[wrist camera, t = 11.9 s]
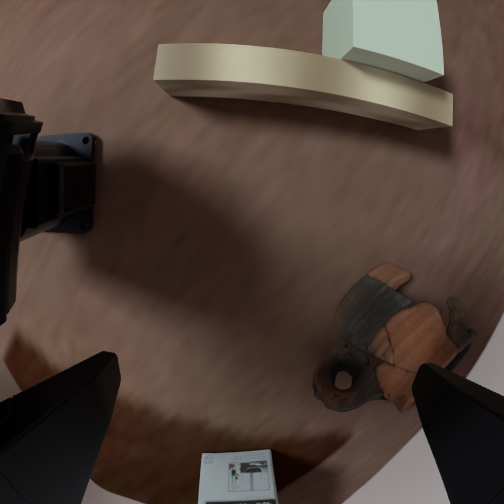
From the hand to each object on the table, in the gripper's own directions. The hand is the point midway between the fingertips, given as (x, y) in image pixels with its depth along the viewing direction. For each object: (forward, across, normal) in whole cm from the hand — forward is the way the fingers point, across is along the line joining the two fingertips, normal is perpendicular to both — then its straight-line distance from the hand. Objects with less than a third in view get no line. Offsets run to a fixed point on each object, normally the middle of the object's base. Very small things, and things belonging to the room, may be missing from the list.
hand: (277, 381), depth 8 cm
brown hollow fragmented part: (+12, -10, +5) cm, 16 cm away
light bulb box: (+12, -1, +24) cm, 27 cm away
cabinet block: (+12, -5, -14) cm, 19 cm away
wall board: (+12, -2, -10) cm, 16 cm away
